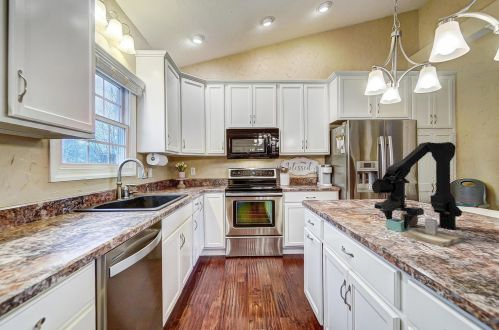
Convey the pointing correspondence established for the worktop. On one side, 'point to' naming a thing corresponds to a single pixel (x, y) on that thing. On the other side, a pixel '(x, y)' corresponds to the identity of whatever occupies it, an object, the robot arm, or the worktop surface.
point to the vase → (413, 221)
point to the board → (433, 237)
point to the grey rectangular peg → (431, 226)
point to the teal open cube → (396, 225)
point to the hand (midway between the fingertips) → (397, 226)
